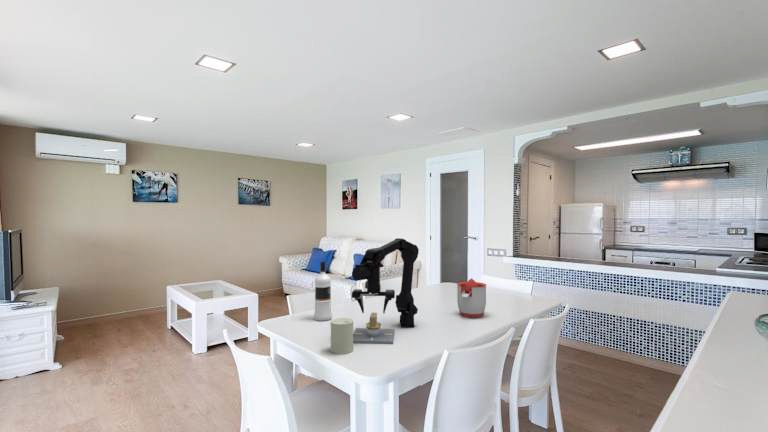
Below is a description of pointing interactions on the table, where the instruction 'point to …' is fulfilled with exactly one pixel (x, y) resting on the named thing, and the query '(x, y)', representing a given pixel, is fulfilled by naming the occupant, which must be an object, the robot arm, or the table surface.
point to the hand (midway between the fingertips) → (373, 313)
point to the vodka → (322, 295)
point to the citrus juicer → (471, 298)
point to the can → (341, 336)
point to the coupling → (373, 322)
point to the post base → (373, 336)
